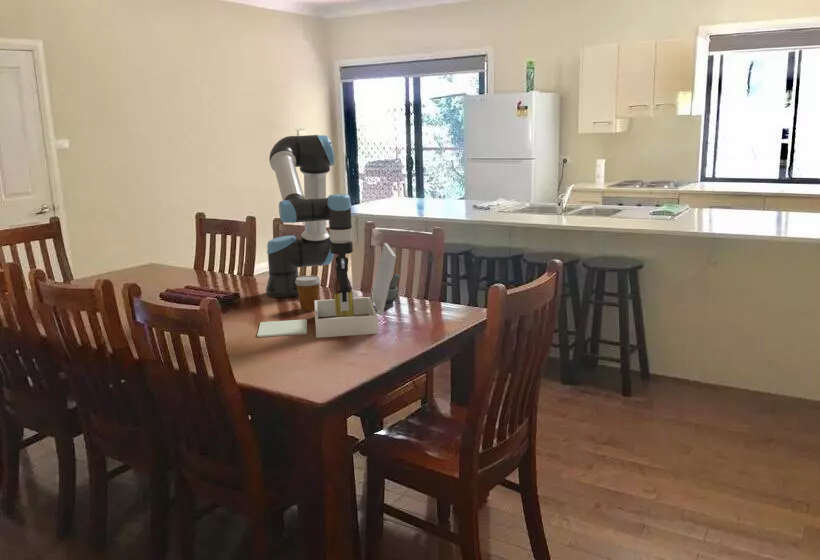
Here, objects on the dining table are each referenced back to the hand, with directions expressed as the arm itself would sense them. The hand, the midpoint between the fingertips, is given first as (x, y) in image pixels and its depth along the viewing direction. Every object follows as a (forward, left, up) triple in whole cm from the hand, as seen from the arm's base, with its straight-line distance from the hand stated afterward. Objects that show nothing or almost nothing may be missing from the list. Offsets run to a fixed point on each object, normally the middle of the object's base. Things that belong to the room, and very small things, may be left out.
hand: (344, 307), depth 234 cm
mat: (0, -21, -6) cm, 22 cm away
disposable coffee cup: (-24, -12, -6) cm, 27 cm away
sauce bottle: (0, 0, -5) cm, 5 cm away
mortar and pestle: (-22, +17, -6) cm, 28 cm away
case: (0, 0, -6) cm, 6 cm away
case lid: (0, +13, +10) cm, 16 cm away
